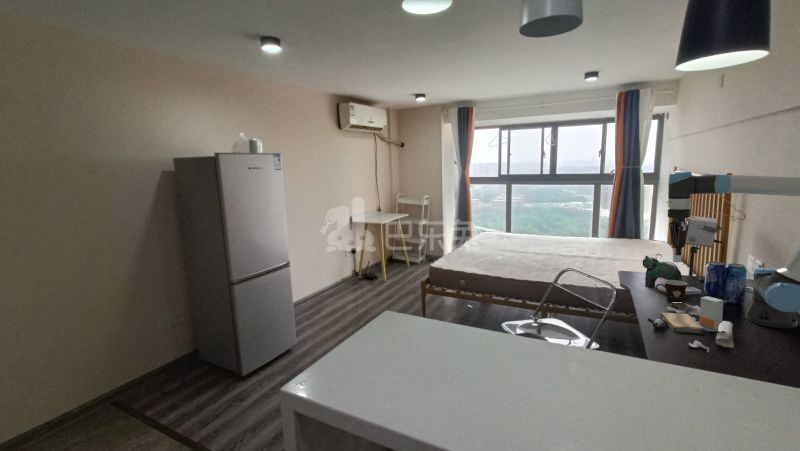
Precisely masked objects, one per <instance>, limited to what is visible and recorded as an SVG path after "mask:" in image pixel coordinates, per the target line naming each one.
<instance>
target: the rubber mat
mask: <svg viewBox="0 0 800 451" xmlns="http://www.w3.org/2000/svg"><path fill="white" fill-rule="evenodd" d="M695 321H696V320H695ZM696 322H697V323H699V322H700V321H699V320H698V321H696ZM700 325H701V324H700ZM701 326H702V327H703V328H704V331H706V332H712V333H718V332H717V329H712V328H710V327H707V326H704V325H701Z"/></svg>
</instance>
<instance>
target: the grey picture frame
mask: <svg viewBox="0 0 800 451" xmlns="http://www.w3.org/2000/svg"><path fill="white" fill-rule="evenodd" d="M661 317H662V318H664V317H663V316H662V315H661V314H660V318H661ZM664 319H665V318H664ZM665 320H666V319H665ZM666 322H667V323H668V325H667V326H668V327H669V328H670V329H671V331H673V333H674V332H675V333H676V332H677V333H692V334H704V331H705V330H701V329H685V328H674V327H673V326H672V325H671V324H670V323H669V322H668V321H667V320H666Z"/></svg>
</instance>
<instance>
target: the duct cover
mask: <svg viewBox="0 0 800 451" xmlns="http://www.w3.org/2000/svg"><path fill="white" fill-rule="evenodd" d="M661 315H662V316H663V317H664V318H665V319H666V320H667V321H668V322H669V323H670V324H671V325H672V326H673V327H674V328H685V329H701V330H704V328H703V327H702V326H701V325H700V324H699V323H697V322H696V320H695V319H694V318H693V317H692V316H691V315H689V313H678V312H677V313H676V312H675V313H674V312H660V316H661ZM704 331H705V330H704Z"/></svg>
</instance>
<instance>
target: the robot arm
mask: <svg viewBox="0 0 800 451" xmlns="http://www.w3.org/2000/svg"><path fill="white" fill-rule="evenodd" d="M668 175H669V176H668V185H667V186H668V192H667V194H668V195H667V197H668V200H667V201H666V203H667V204H668V205H667V207H668V209H667V218H671V222H669V223H668V226H669V233H670V245H672V263H682V261H683V259H682V258H683V257H682V256H683V248H685V247H686V240H687V233H688V230H689V226H688V225H687V224H686V219H689V218H690V216H691V209H690V208H691V204H692V203H691V202H692V198H691V197H692V196H691V195H702V194H703V195H705V194H706V195H707V194H709V195H710V194H713V195H714V194H715V195H719V194H729V193H730V194H743V195H745V194H746V195H748V194H749V195H764V196H766V195H767V196H785V197H800V176H779V175H778V176H773V175H770V176H769V175H765V176H764V175H742V174H741V175H740V174H710V173H705V174H701V175H692V172H691V171H678V172H677V171H675V172H671V173H670V174H668ZM752 276H753V281H752V282H753V283H752V296H751V298H752V299H751V302H750V305H749V306H748V308H747V310H746V312H745V319H746V320H747V321H749V322H751V323H753V324H757V325H758V326H759V325H760V326H764V327H768V328H775V329H783V330H784V329H795V328H797V327H798V319H797V316H796V312H800V244H799V245H798V247H797V248H796V250H795V251H794V253H793V254H792V255H791V256H790V258H789V259H788V261H787V262H786V264H785V265H784V266H783V267H781V268H779V267H777V268H776V267H756V268H754V270H753V274H752Z"/></svg>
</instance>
